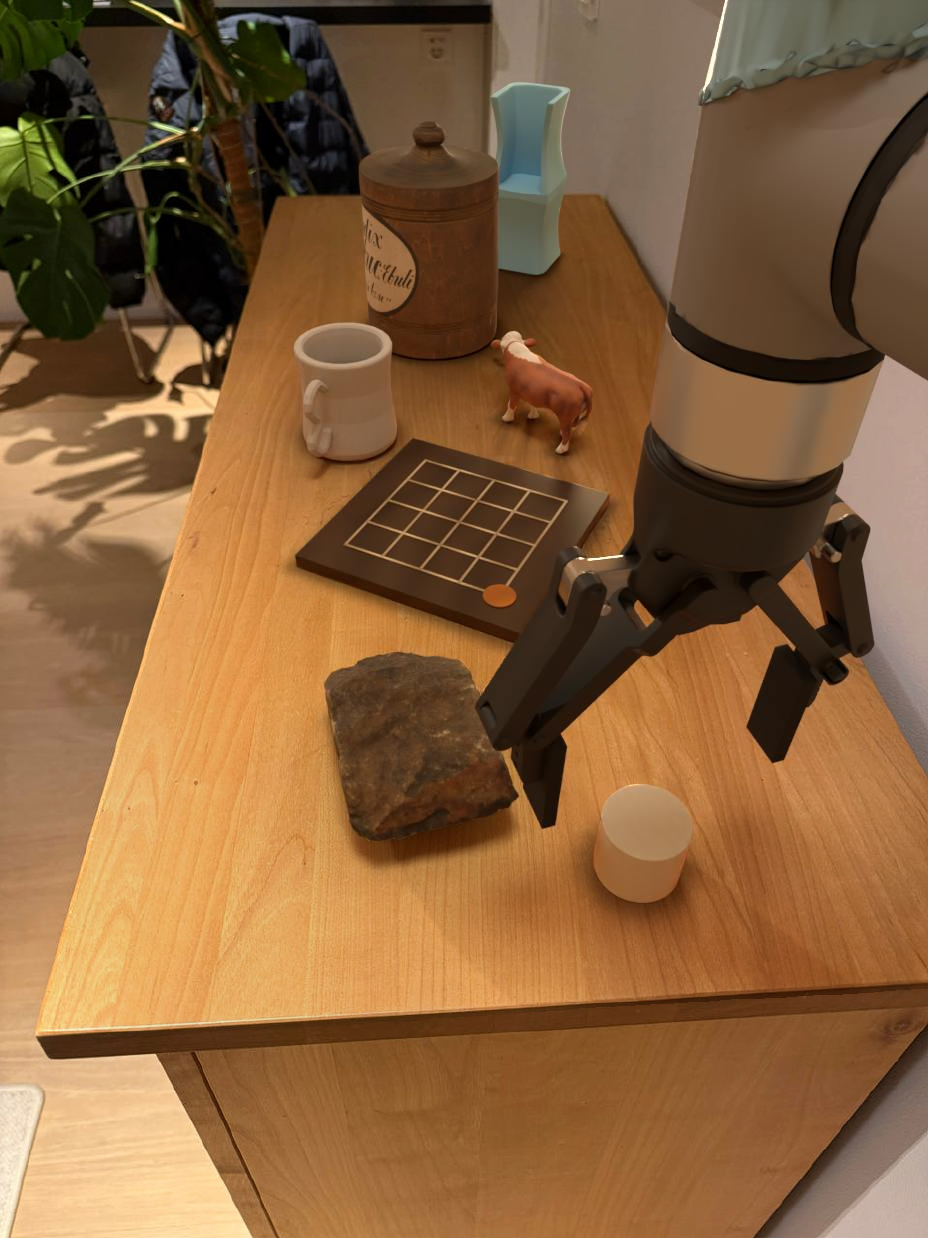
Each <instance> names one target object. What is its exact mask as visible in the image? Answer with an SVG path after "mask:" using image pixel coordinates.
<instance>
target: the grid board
mask: <svg viewBox="0 0 928 1238" xmlns="http://www.w3.org/2000/svg"><path fill="white" fill-rule="evenodd" d="M610 497H611V493H610V492H606V491H603V490H599V489H595V488H592V487H588V486H585V485H581V484H578V483H574V482H571V481H566V480H563V479H561V478H557V477H553V476H550V475H545V474H542V473H539V472H536V471H532V470H527V469H525V468H522V467H517V466H514V465H511V464H506V463H503V462H500V461H496V460H492V459H489V458H486V457H482V456H478V455H475V454H472V453H468V452H465V451H461V450H458V449H453V448H450V447H447V446H443V445H440V444H436V443H433V442H428V441H426V440H422V439H419V438H415V437H413V438H411V439H410V440H409V441H408V442H407V443H406V444H405V445H404V446H403V447H402V448H401V449H400V450H399V451H398V452H397V453H396V454H395V455H394V456H393V457H391V459H390V460H389V461H388V462H387V463H386V464H385V465H384V466H383V467H382V468H381V469H380V470H379V471H378V472H377V473H376V474H375V475H374V476H373V477H372V478H371V479H370V480H369V481H368V482H367V483H366V484H365V485H364V486H363V487H362V488H361V489H360V490H359V491H358V492H357V493H355V495H354V496H353V497H352V498H350V500H349V501H348V502H346V504H344V506H343V507H341V509H340V510H339V511H338V512H337V513H336V514H335V515H333V517H332V518H331V519H330V520H329V521H327V523H326V524H324V526H323V527H322V528H320V530H319V531H318V532H316V534H314V535H313V537H312V538H310V540H309V541H307V542H306V544H305V545H304V546H303V547H301V548H300V550H298V551H297V552H296V554H294V558H295V565H296V567H297V568H301V569H303V570H307V571H309V572H312V573H315V574H317V575H321V576H324V577H326V578H330V579H332V580H334V581H337V582H341V583H343V584H346V585H349V586H351V587H355V588H357V589H361V590H364V591H366V592H370V593H372V594H374V595H378V596H381V597H384V598H387V599H389V600H392V601H395V602H398V603H400V604H403V605H406V606H410V607H412V608H415V609H418V610H420V611H424V612H426V613H429V614H432V615H436V616H438V617H440V618H444V619H446V620H449V621H451V622H452V621H453V622H455V623H458V624H461V625H464V626H466V627H470V628H473V629H475V630H478V631H481V632H483V633H486V634H488V635H489V634H490V635H492V636H495V637H498V638H501V639H504V640H507V641H510V642H513V643H515V642H516V640H517V638H518V637H519V635H520V634H521V632H522V631H523V629H524V628H525V626H526V624H527V623H528V621H529V620H530V618H531V617H532V615H533V614H534V612H535V610H536V609H537V607H538V606H539V604H540V603H541V601H542V599H543V598H544V596H545V595H546V593H547V592H548V590H549V586H550V582H551V578H552V573H553V569H554V565H555V561H556V558H557V556H558V554H559V553H560V552H561V551H562V550H564V549H565V548H568V547H571V546H575V547H578V548H580V549H581V548H582V546H583V545H584V543H585V542H586V541H587V538H588V537H589V535H590V534H591V532H592V531H593V529H594V527H595V526H596V524H597V523H598V521H599V520H600V519H601V516H602V515H603V514H604V512H605V510H606V509H607V507H608V506H609V503H610V499H611V498H610Z"/></svg>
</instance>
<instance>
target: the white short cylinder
mask: <svg viewBox="0 0 928 1238" xmlns="http://www.w3.org/2000/svg"><path fill="white" fill-rule="evenodd" d="M599 819H600V820H599V824H598V830H597V835H596V840H595V845H594V849H593V856H592V863H593V868H594V869H593V870H594V872H595V874H596V877H597V878H598V880H599V881H600V883H601V884H602V885H603V886H604V887H605V889H606V890H608V891H609V892H610V893H611V894H613V895H614V896H616V897H618V898H620V899H622V900H625V901H627V902H632V903H637V904H648V903H655V902H657V901H660V900H662V899H664V898H665V897H667V896H668V895H670V894H671V893H672V892H673V891H674V890H675V888H676V887H677V884H678V882H679V880H680V878H681V877H680V876H681V874H682V872H683V871H682V870H683V867H684V865H685V861H686V858H687V855H688V852H689V850H690V849H689V848H690V846H691V842H692V839H693V835H694V822H693V817H692V815H691V813H690V811H689V809H688V807H687V806H686V805H685V804H684V802H682V800H681V799H679V797H678V796H676V795H675V794H673V793H672V792H670V791H668V790H666V789H664V788H663V787H659V786H656V785H652V784H646V783H637V784H635V783H634V784H630V785H629V784H628V785H625V786H623V787H620V788H618V789H616V791H613V792H612V794H610V795H609V796H608V797H607V798H606V800H605V801H604V804H603V805H602V809H601V814H600V818H599Z"/></svg>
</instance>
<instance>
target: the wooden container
mask: <svg viewBox="0 0 928 1238" xmlns="http://www.w3.org/2000/svg"><path fill="white" fill-rule="evenodd" d="M446 132H447V131H446V130H445V129H444V127H443V126H441V125H440V124H438V123H437V122H436V121H434V120H424V121H423V120H422V121H421V122H419V124H418V125H417V126H415V127H414V128H413V130H412V138H413V141H414V144H411V145H401V146H395V147H389V148H384V149H381V150H378V151H375V152H372V153H370V154H368V155H367V156H365V157H364V158H363V159H362V160H361V161H360V162H359V165H358V179H359V180H358V181H359V193H360V200H361V209H362V210H361V212H362V213H361V214H362V215H361V216H362V231H363V251H364V252H363V253H364V257H363V258H364V271H365V272H364V274H365V275H364V276H365V288H366V300H367V311H368V325H369V326H373V327H376V328H378V329H380V330H382V331H383V332H385V333H386V334H387V335H388V336H389V337H390V339H391V341H392V354H396V355H399V356H404V357H407V358H414V359H420V360H421V359H422V360H443V359H451V358H456V357H462V356H466V355H469V354H471V353H472V354H473V353H475V352H477V351H479V350H481V349H483V348H484V347H486V346H487V345H489V344H491V343H492V342H493V340H494V338H495V337H496V333H497V325H498V324H497V323H498V297H499V295H498V294H499V269H498V198H499V166H498V162H497V161H496V160H495V159H496V158H494V157H493V156H492V155H490V154H489V153H487V152H484V151H481V150H478V149H474V148H469V147H464V146H458V145H448V144H447V145H446V144H444V143H445V140H446V137H447V133H446Z"/></svg>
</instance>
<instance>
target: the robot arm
mask: <svg viewBox="0 0 928 1238" xmlns="http://www.w3.org/2000/svg"><path fill="white" fill-rule="evenodd" d="M721 12H722V13H721V16H720V19H719V25H718V29H717V32H716V37H715V41H714V46H713V50H712V55H711V58H710V61H709V66H708V70H707V74H706V78H705V83H704V86H703V87H702V88H701V89H700V90H699V94H698V100H697V106H698V107H701V108H700V112H699V119H698V124H697V125H698V126H697V131H696V137H695V143H694V149H693V155H692V161H691V165H690V166H691V167H690V174H689V179H688V185H687V190H686V195H685V196H686V197H685V203H684V208H683V214H682V220H681V227H680V233H679V238H678V244H677V250H676V255H675V263H674V268H673V273H672V280H671V286H670V291H669V292H670V293H669V297H668V304H667V310H666V318H665V324H664V329H663V333H662V340H661V346H660V351H659V357H658V363H657V367H656V375H655V379H654V386H653V392H652V398H651V402H650V407H649V408H650V409H649V414H648V415H649V420H650V422H649V424H648V425H647V426H646V429H645V431H644V435H643V439H642V440H643V441H642V446H641V451H640V456H639V462H638V469H637V474H636V479H635V486H634V491H633V499H632V501H633V503H632V504H633V506H632V507H633V530H632V533H631V535H630V537H629V539H628V541H627V542H626V543H625V545H624V546H623V547H622V549H621V550H620V551H619V554H618V555H613V556H605V557H597V558H596V557H595V558H587V556H586V554H585V553H584V552H583V550H582V549H581V548H578V547H575V546H571V547H568V548H565V549H564V550H562V551H561V552H560V553H559V554H558V556H557V558H556V561H555V565H554V569H553V573H552V578H551V582H550V586H549V590H548V592H547V593H546V595H545V596H544V598H543V599H542V601H541V603H540V604H539V606H538V607H537V609H536V610H535V612H534V614H533V615H532V617H531V618H530V620H529V621H528V623H527V624H526V626H525V628H524V629H523V631H522V632H521V634H520V635H519V637H518V638H517V640H516V642H513V645H512V646H511V648H510V649H509V651H508V652H507V654H506V655H505V656H504V659H503V660H502V661H501V663H500V665H499V667H498V668H497V669H496V671H495V673H494V674H493V675H492V677H491V679H490V680H489V682H488V684H487V686H486V687H485V688H484V690H483V691H482V692H481V694H480V695H481V696H480V698H479V699H478V701H477V702H476V705H475V709H476V711H477V714H478V716H479V718H480V720H481V722H482V725H483V727H484V729H485V731H486V734H487V736H488V738H489V740H490V742H491V745H492V747H493V749H494V750H496V751H501V752H505V751H508V750H510V760H511V762H512V764H513V766H514V768H515V771H516V773H517V775H518V778H519V780H520V781H521V782H522V789H523V791H524V793H525V796H526V798H527V800H528V802H529V805H530V807H531V809H532V811H533V813H534V815H535V818H536V819H537V822H538V824H539V826H540V828H541V830H545V829H548V828H551V827H555V826H556V825H557V817H558V811H559V805H560V798H561V792H562V791H561V790H562V784H563V777H564V772H565V764H566V757H567V752H568V745H567V743H566V741H565V739H564V737H563V735H562V733H564V732H565V730H567V729H568V727H570V726H571V725H572V724H573V723H574V722H575V721H576V720H577V719H579V717H580V716H581V715H582V714H583V713H584V712H585V711H586V710H588V708H589V707H591V706H592V705H593V704H594V703H595V702H596V701H597V700H598V699H599V698H600V697H601V696H602V695H603V694H604V693H605V692H606V691H607V690H608V689H609V688H610V687H612V685H613V684H614V683H615V682H616V681H618V680H619V678H620V677H622V676H623V675H624V674H625V673H626V672H627V671H628V670H629V669H631V667H632V666H633V665H634V664H635V663H636V662H637V661H638V660H639V659H641V657H644V656H645V657H649V658H652V657H655V656H657V655H658V654H659V653H660V652H661V651H662V650H663V649H665V648H666V646H668V644H669V643H670V642H672V641H673V640H674V639H675V638H676V637H677V636H684V635H686V634H690V633H695V632H697V631H699V630H701V629H704V628H706V627H709V626H712V625H713V626H718V625H728V624H732V623H737V622H740V621H741V619H742V616H743V615H746V614H747V613H749V612H751V611H752V610H753V609H754V608H756V607H757V606H758V607H759V609H760V610H761V611H762V612H763V613H764V614H765V616H767V618H768V619H769V620H770V621H771V622H772V623H773V625H774V626H776V627H777V628H778V629H779V631H781V633H782V634H783V635H784V637H786V638H787V640H788V641H789V642H790V643H791V644H792V645H793V646H794V649H793V648H792V647H791V646H790V645H789V643H784V644H781V645H777V646H774V649H773V651H772V654H771V657H770V660H769V663H768V665H767V668H766V671H765V673H764V676H763V679H762V682H761V685H760V687H759V690H758V692H757V695H756V699H755V701H754V704H753V707H752V709H751V712H750V715H749V718H748V721H747V724H746V729H747V730H748V732H749V733H750V734H751V736H752V737H753V739H754V740H755V742H756V743H757V744H758V746H759V748H761V751H763V753H764V754H765V756H766V757H767V759H768V760H769V761H770V763H771V764H775V763H780V762H783V761H785V760H786V756H787V754H788V752H789V750H790V747H791V745H792V743H793V740H794V738H795V735H796V733H797V731H798V728H799V726H800V724H801V721H802V719H803V716H804V714H805V712H806V709H807V708H810V707H811V706H812V704H813V703H814V702H815V700H816V698H817V696H818V693H819V692H820V689H821V687H822V684H823V682H824V681H825V683H826V684H827V685H828V686H830V687H831V686H836V685H838V684H840V683H842V682H843V681H845V680H846V679H847V678H848V677H849V674H850V669H849V668H848V666H846V665H845V664H844V662H843V661H842V660H841V658H843V657H845V656H848V655H851V656H852V657H853V658H855V659H859V658H863V657H865V656H866V655H868V654H869V653H871V652H872V650H873V649H874V647H875V637H874V631H873V625H872V619H871V618H872V617H871V611H870V605H869V599H868V598H869V597H868V592H867V585H866V580H865V573H864V566H863V558H864V555H865V551H866V547H867V544H868V540H869V538H870V535H871V526H870V525H869V523H867V522H866V521H865V520H864V518H862V517H861V516H860V515H859V514H858V513H857V512H856V511H855V510H854V509H853V508H852V507H850V505H848V503H846V502H845V501H844V500H843V499H842V497H840V496H839V495H838V494H837V491H838V488H839V485H840V482H841V479H842V477H843V474H844V468H845V467H844V466H845V464H844V462H845V461H846V460H847V459H848V458H849V457H850V456H851V454H852V451H853V449H854V446H855V443H856V440H857V438H858V434H859V431H860V430H861V426H862V423H863V420H864V418H865V416H866V415H865V414H866V411H867V409H868V406H869V403H870V401H871V397H872V396H873V392H874V390H875V387H876V384H877V381H878V378H879V375H880V372H881V370H882V367H883V364H884V361H885V359H886V358H885V356H886V357H888V358H889V359H891V360H893V361H895V363H898V364H899V365H901V366H903V367H904V368H906V369H908V370H910V371H912V372H913V373H914V374H916V375H917V376H919V377H920V378H922V379H923V380H926V381H927V382H928V0H724V4H723V8H722V11H721ZM807 553H808V555H809V560H810V564H811V568H812V574H813V578H814V582H815V587H816V592H817V596H818V600H819V605H820V609H821V614H822V618H823V622H824V624H822V625H821V626H818V627H817V628H815V627H814V626H813V625H812V623H810V621H809V620H808V619H807V618H806V617H805V616H804V614H803V613H802V611H801V610H800V609H799V608H798V606H797V605H796V604H795V603H794V602H793V600H792V599H791V598H790V596H788V595H787V593H786V592H785V591H784V590H783V588H782V587H781V586H780V583H781V582H782V580H783V579H784V578H785V577H786V576H788V574H789V573H791V572H792V570H793V569H794V568H795V567H796V566H797V565H798V564H799V563H800V562H801V561H802V560H803V559H804V558H805V557H806V555H807ZM637 602H639V603H640V604H641V606H642V607H643V608H644V609H645V610H646V611H647V613H649V615H650V616H651V617H652V619H653V620H652V621H651V622H650V623H649V624H648V625H647V626H646V624H645V623H644V621H643V620H642V618H641V617H640V615H639V614H638V612H637V611H636V609H635V605H636V603H637Z"/></svg>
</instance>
